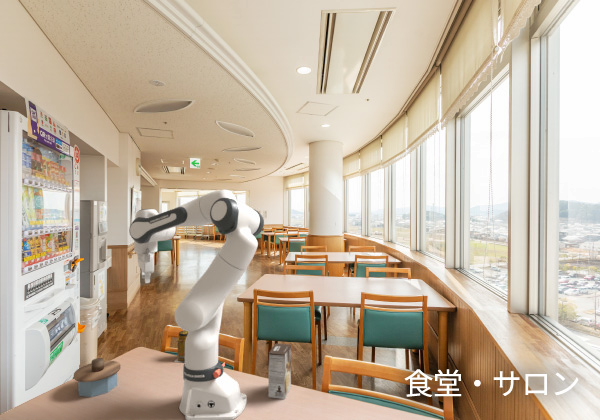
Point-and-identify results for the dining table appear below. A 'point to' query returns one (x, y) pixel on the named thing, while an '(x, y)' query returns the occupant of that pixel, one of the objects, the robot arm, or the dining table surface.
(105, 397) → the dining table surface
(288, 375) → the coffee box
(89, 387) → the bowl
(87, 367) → the lid
